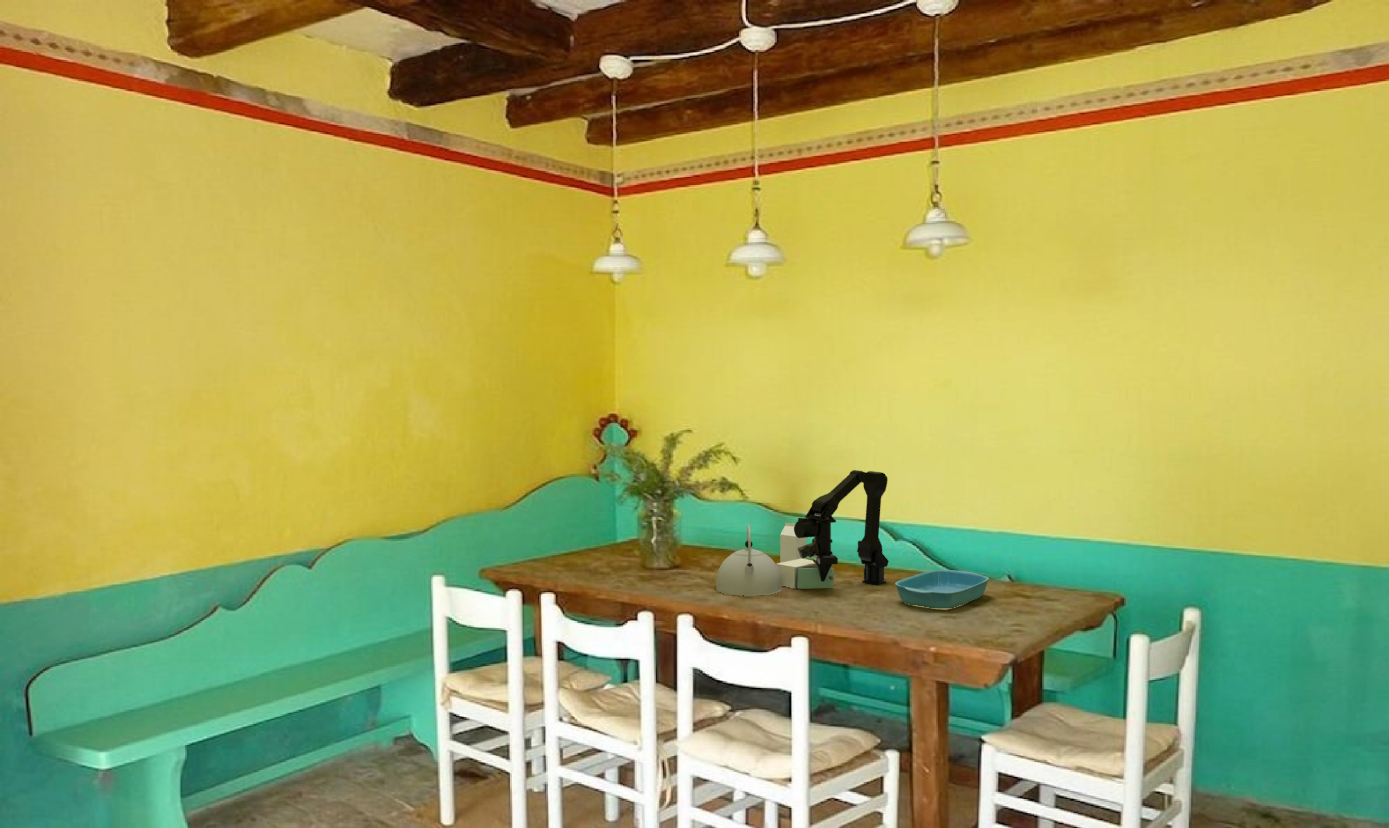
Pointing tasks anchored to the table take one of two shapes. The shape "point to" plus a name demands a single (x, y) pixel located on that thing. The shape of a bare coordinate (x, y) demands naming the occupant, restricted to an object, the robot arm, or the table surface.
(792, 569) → the cupboard
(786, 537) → the milk carton
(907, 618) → the table surface
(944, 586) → the casserole dish
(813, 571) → the door
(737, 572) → the kettle
